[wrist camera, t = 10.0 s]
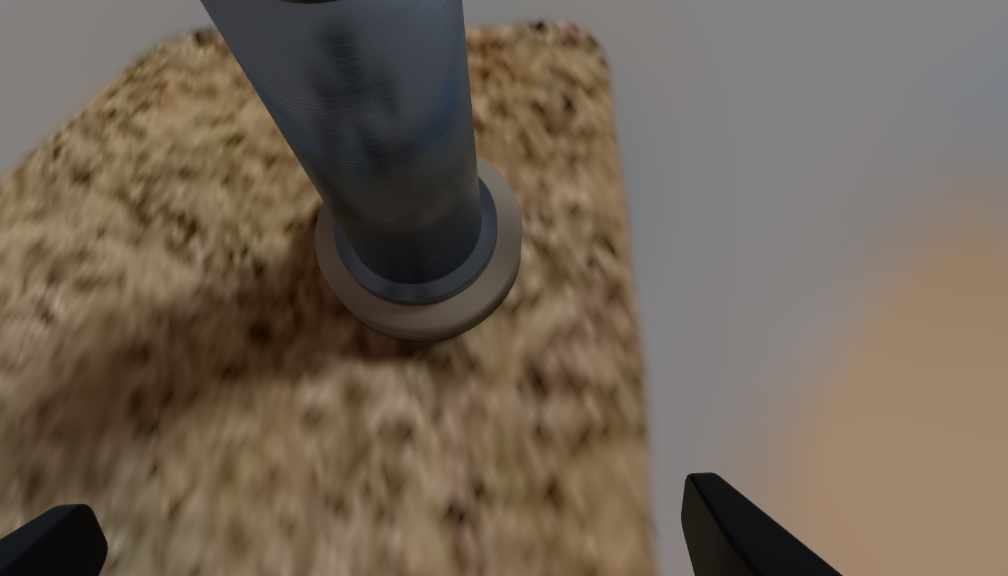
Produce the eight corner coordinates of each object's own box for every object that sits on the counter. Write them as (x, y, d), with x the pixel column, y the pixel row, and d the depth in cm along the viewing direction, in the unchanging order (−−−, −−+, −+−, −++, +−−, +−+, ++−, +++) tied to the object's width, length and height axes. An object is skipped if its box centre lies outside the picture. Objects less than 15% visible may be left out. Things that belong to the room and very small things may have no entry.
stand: (491, 364, 23) (490, 352, 21) (299, 313, 24) (281, 297, 22) (541, 189, 26) (543, 165, 24) (367, 148, 27) (357, 122, 25)
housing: (424, 338, 22) (296, 88, 8) (306, 241, 23) (40, -101, 10) (529, 221, 23) (557, -140, 10) (413, 137, 25) (307, -273, 12)
